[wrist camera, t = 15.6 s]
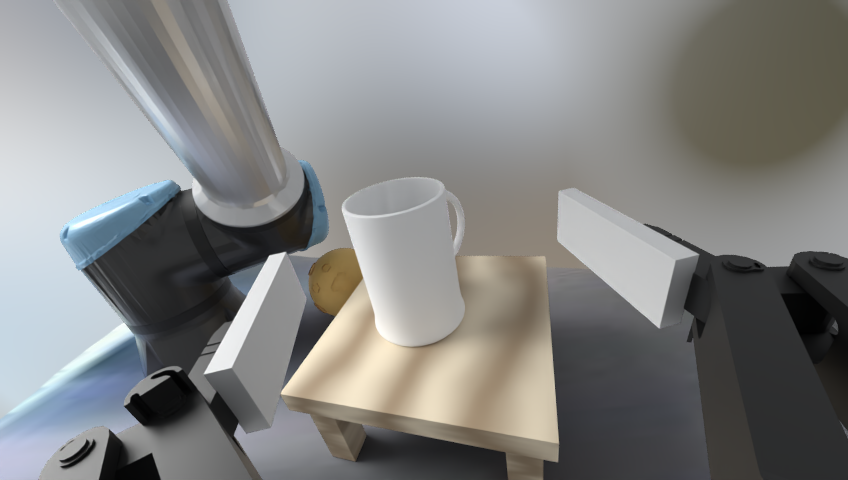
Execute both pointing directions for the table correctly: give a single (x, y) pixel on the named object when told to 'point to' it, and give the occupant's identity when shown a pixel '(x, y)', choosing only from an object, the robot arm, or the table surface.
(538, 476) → the footstool
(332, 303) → the stress ball
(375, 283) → the mug
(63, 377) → the table surface
